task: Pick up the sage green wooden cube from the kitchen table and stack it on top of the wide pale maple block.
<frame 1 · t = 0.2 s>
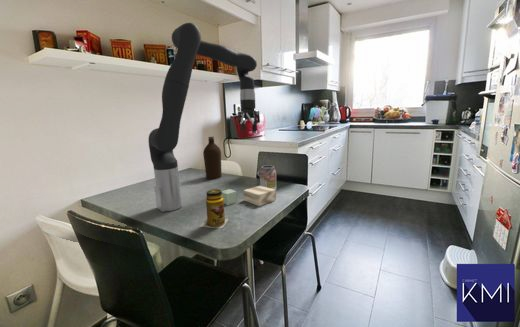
hand: (248, 131, 127), 29 cm above the table, tool pointing down, fingers open, 8 cm apart
condiment: (214, 223, 88), on the table
green cube: (229, 202, 109), on the table
maple block: (260, 200, 110), on the table
patterned jar: (267, 190, 123), on the table
olive oil: (214, 177, 153), on the table
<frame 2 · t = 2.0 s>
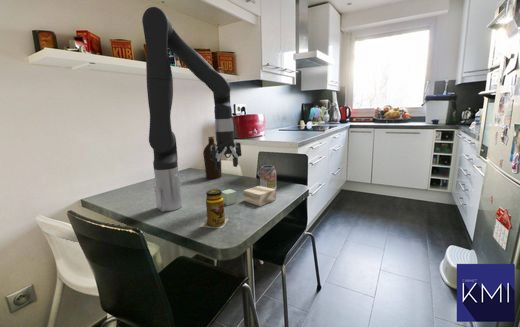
hand: (227, 168, 106), 15 cm above the table, tool pointing down, fingers open, 8 cm apart
nothing on the table moved.
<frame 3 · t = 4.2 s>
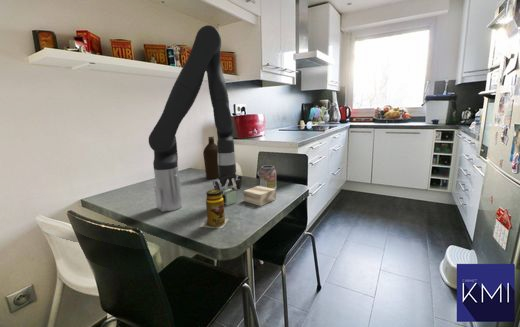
hand: (229, 200, 108), 1 cm above the table, tool pointing down, fingers closed on green cube, 5 cm apart
green cube: (229, 202, 109), on the table, touching gripper
everything else where it was.
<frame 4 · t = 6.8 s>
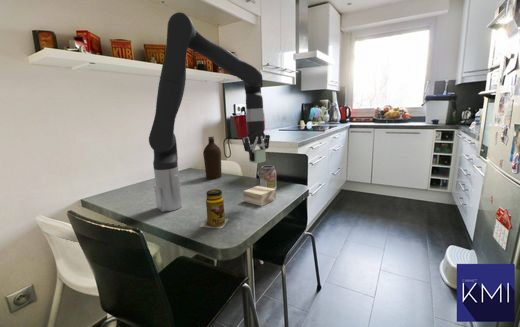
hand: (257, 160, 106), 18 cm above the table, tool pointing down, fingers closed on green cube, 5 cm apart
green cube: (257, 161, 106), point 17 cm above the table, touching gripper
everything else where it was.
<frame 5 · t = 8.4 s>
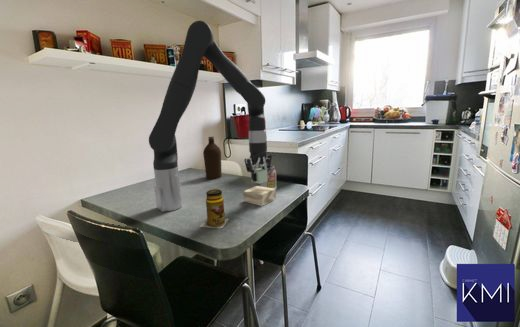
hand: (259, 179, 108), 9 cm above the table, tool pointing down, fingers closed on green cube, 5 cm apart
green cube: (259, 181, 108), point 9 cm above the table, touching gripper
everything else where it was.
when the fingers open (7 cm above the table, at t = 9.8 s): green cube drops 1 cm, resting on maple block.
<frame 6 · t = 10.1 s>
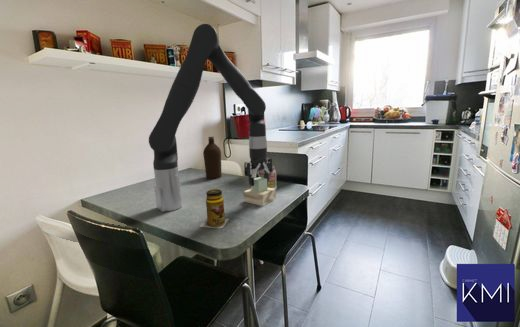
hand: (259, 183, 108), 8 cm above the table, tool pointing down, fingers open, 8 cm apart
green cube: (259, 190, 109), point 5 cm above the table, touching maple block
maple block: (260, 200, 110), on the table, touching green cube
everything else where it was.
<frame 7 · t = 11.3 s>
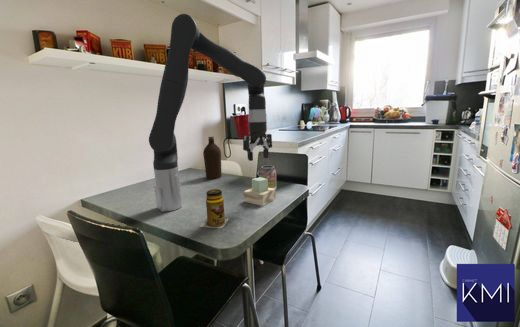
hand: (258, 159, 106), 18 cm above the table, tool pointing down, fingers open, 8 cm apart
nothing on the table moved.
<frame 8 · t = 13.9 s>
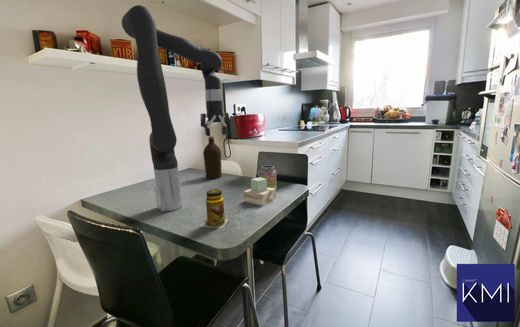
hand: (216, 135, 117), 28 cm above the table, tool pointing down, fingers open, 8 cm apart
nothing on the table moved.
at the end: green cube 0.3 cm off-centre on the maple block, point 5.0 cm above the maple block's base; green cube tilted 0°; the gripper is holding nothing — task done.
